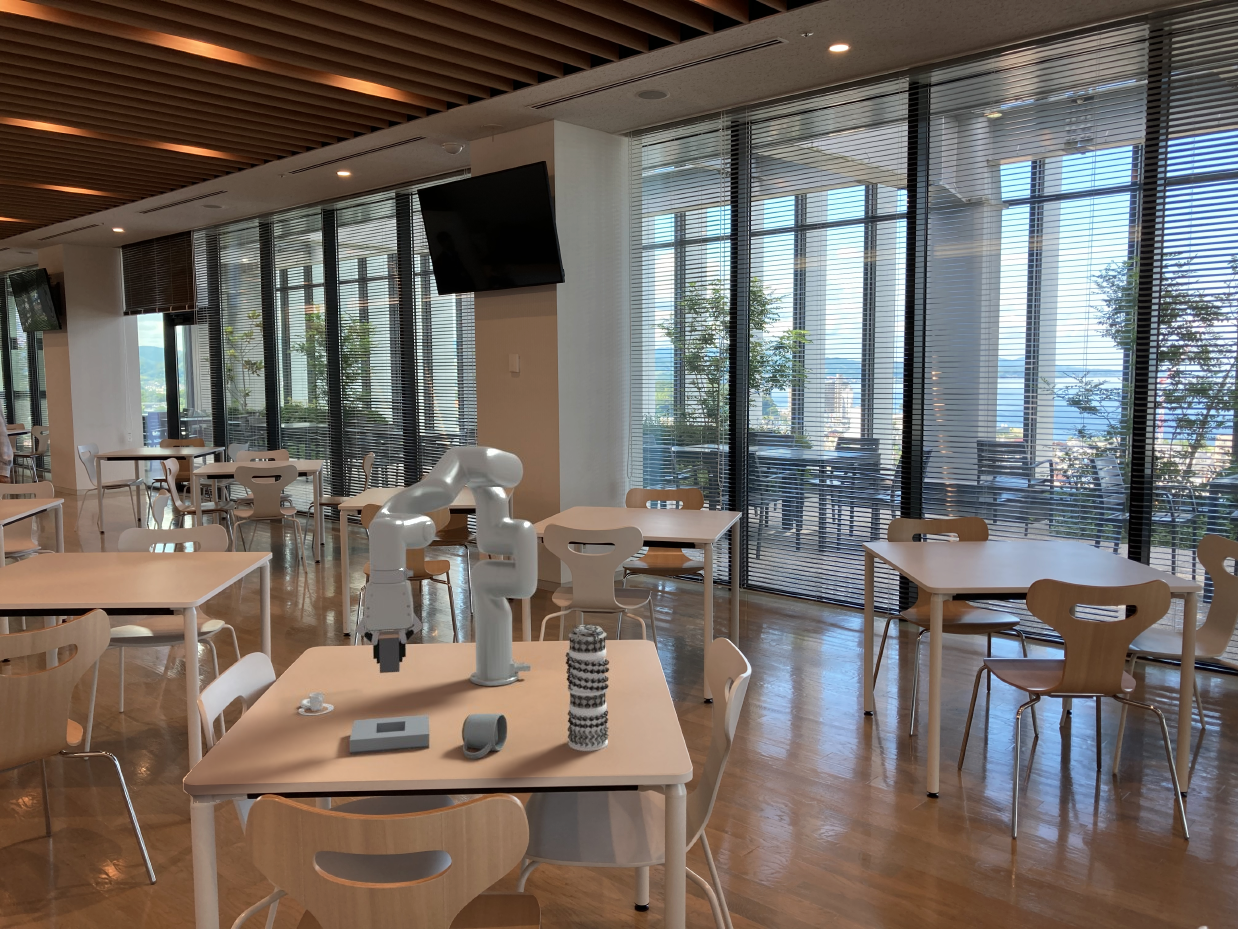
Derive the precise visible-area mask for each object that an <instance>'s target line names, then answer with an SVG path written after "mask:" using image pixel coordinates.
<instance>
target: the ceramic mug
mask: <svg viewBox="0 0 1238 929" xmlns="http://www.w3.org/2000/svg"><path fill="white" fill-rule="evenodd" d="M507 737H508V722H507V718H506V716H505V714H503V713H472V714H469V715H468V716H466V717H465V719H464V721H463V724H462V727H461V738H462V739H461V740H462V742H463V744H462V751H463V754H464V756H465V757H467V758H468V759H473V760H477V759H480V758H482V757H484V756H486V755H487V754H488V753H489V751H495V752H499V751H501V750H503V748H504V746H505V745H506V742H507ZM467 748H471V749H479V751H477V752H469V751H467Z"/></svg>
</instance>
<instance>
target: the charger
mask: <svg viewBox="0 0 1238 929" xmlns="http://www.w3.org/2000/svg"><path fill="white" fill-rule="evenodd" d="M378 639H379V655H380V663H379V674H385V673H387V674H388V673H400V669H401V664H400V663H401V662H399V642H400V635H399V630H384V631H379V636H378Z"/></svg>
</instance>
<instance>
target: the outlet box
mask: <svg viewBox="0 0 1238 929" xmlns="http://www.w3.org/2000/svg"><path fill="white" fill-rule="evenodd" d="M429 748H430V716H429V714H422V715H421V714H420V715H409V716H408V715H406V716H395V717H394V716H393V717H383V718H382V717H379V718H367V719H356V720H353V724H352V727H351V732H350V737H349V755H357V754H358V755H359V754H370V753H383V752H393V751H394V752H395V751H407V750H419V749H429Z"/></svg>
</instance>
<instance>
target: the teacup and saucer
mask: <svg viewBox="0 0 1238 929" xmlns="http://www.w3.org/2000/svg"><path fill="white" fill-rule="evenodd" d="M308 696H309V698H305V699H303V700H301V701H300V704H299V705H300V707H301V708H299V709H298V714H300V715H304V716H318V715H324V714H327V713H330V712H332V711H333V710H334V708H335V707H334V705H333V704H329V703H324V693H323V692H319V691H318V692H312V693H310V694H309V695H308ZM323 707H326V708H327V710H325V711H322V712H319V711H321V710H322V708H323ZM307 709H308V710H309V709H310V710H311V711H312V712H316V713H307V712H305V710H307ZM317 712H318V713H317Z"/></svg>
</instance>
